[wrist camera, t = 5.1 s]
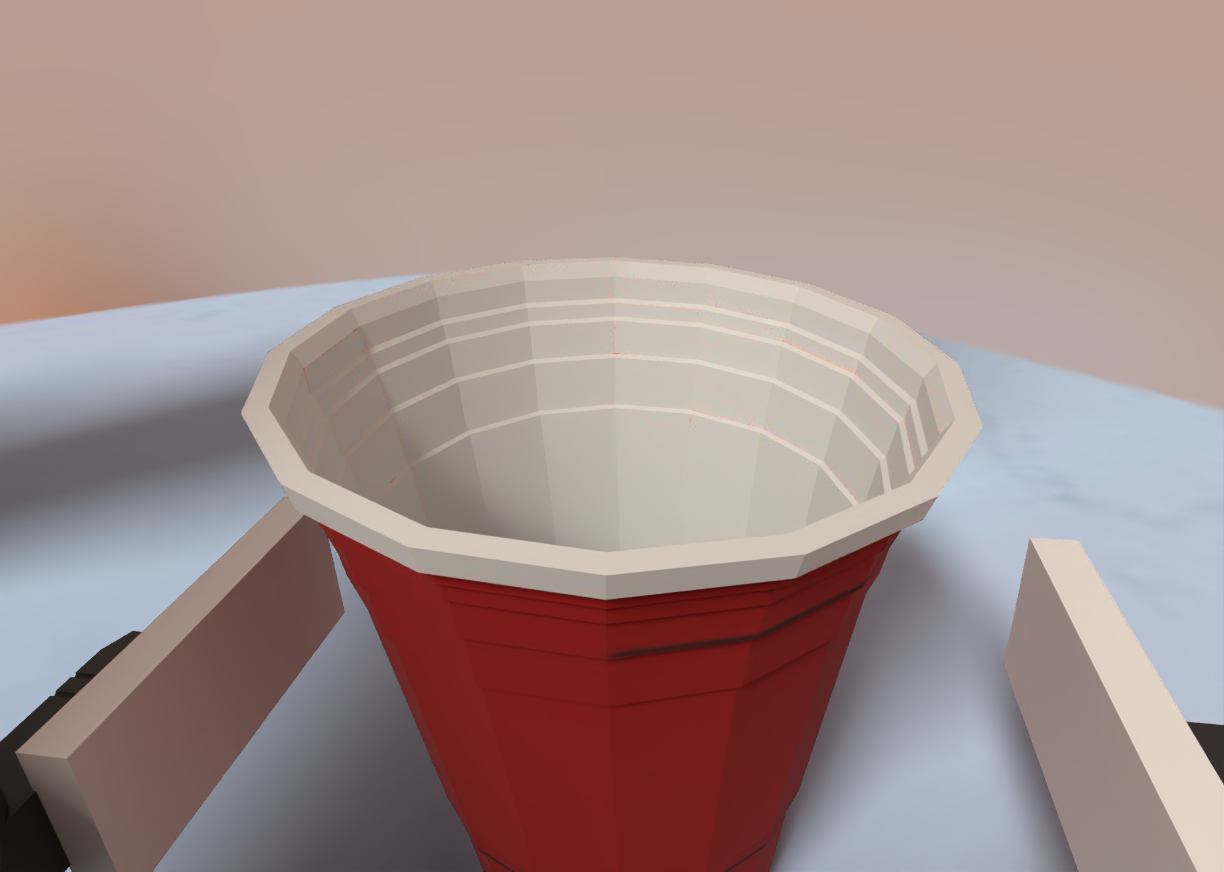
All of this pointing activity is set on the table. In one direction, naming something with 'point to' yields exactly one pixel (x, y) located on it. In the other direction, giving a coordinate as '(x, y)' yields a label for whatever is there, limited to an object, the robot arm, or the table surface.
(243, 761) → the table surface
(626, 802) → the plastic cup
